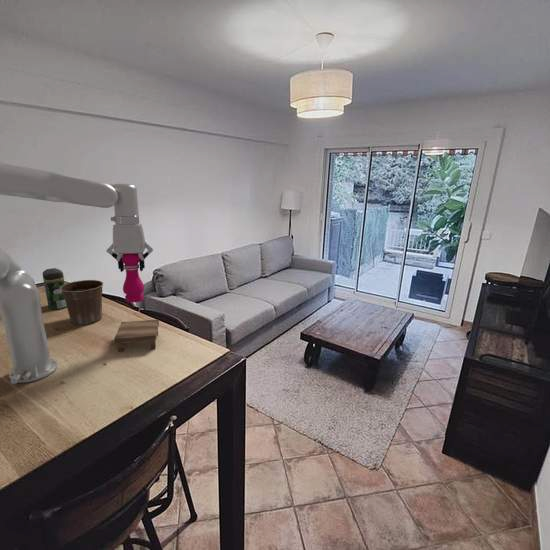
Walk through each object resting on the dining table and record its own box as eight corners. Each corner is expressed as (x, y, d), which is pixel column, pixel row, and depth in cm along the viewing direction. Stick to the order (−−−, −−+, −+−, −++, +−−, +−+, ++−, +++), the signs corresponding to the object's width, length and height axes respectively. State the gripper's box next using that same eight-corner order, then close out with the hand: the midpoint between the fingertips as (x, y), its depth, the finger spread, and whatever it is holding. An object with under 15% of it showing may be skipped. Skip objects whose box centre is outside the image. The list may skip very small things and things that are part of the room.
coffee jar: (46, 305, 155) (40, 268, 150) (65, 301, 160) (60, 266, 155) (50, 311, 149) (43, 273, 143) (70, 307, 154) (64, 270, 148)
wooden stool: (156, 349, 120) (155, 335, 118) (115, 353, 116) (114, 338, 115) (159, 332, 133) (158, 319, 131) (123, 335, 129) (121, 322, 128)
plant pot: (69, 314, 147) (64, 280, 142) (109, 310, 152) (105, 278, 148) (61, 329, 132) (55, 293, 128) (105, 325, 138) (100, 289, 133)
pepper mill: (148, 297, 123) (144, 245, 117) (139, 303, 116) (134, 249, 110) (130, 295, 123) (125, 244, 118) (120, 302, 116) (114, 248, 111)
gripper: (97, 221, 105) (103, 274, 111) (152, 222, 110) (156, 272, 115) (102, 219, 112) (108, 268, 117) (154, 219, 117) (158, 267, 122)
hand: (132, 270), depth 116 cm, fingers closed on pepper mill, 5 cm apart
